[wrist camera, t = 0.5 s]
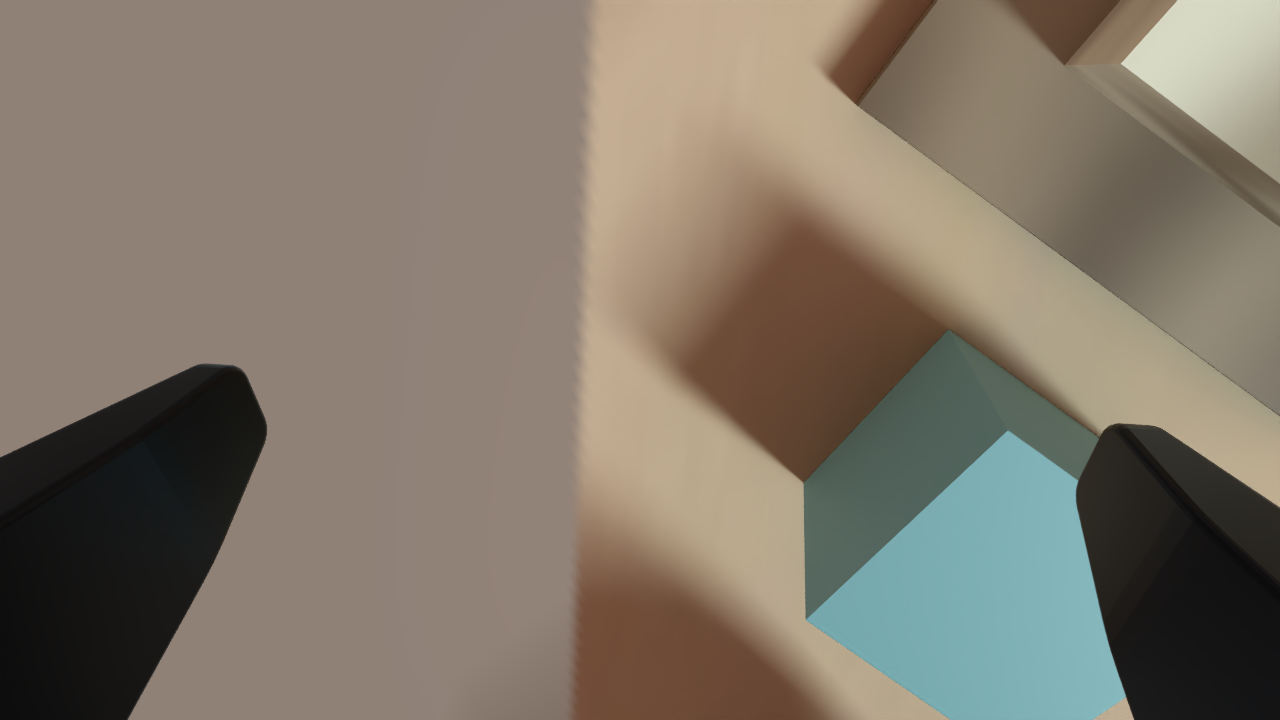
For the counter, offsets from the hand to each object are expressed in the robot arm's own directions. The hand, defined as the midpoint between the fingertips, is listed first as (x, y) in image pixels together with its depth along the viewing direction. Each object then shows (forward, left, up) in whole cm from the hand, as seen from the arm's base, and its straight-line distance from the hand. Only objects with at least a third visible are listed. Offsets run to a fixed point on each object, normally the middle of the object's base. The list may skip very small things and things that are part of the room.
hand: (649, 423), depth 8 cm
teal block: (-9, +2, -13) cm, 16 cm away
